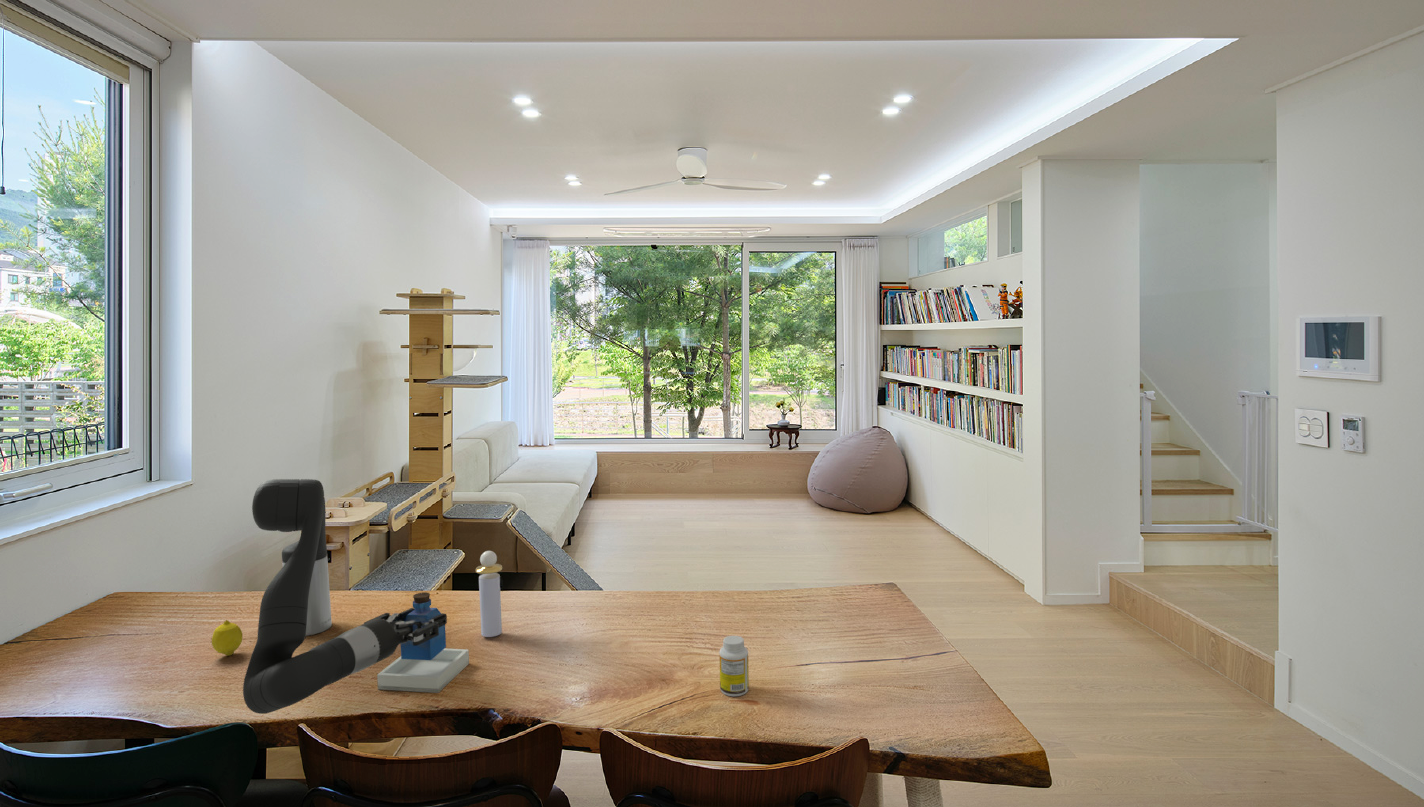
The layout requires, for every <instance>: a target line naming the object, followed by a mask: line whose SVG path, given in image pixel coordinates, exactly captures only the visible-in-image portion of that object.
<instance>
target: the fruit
mask: <svg viewBox="0 0 1424 807" xmlns="http://www.w3.org/2000/svg"><path fill="white" fill-rule="evenodd" d="M242 641H243V631H242V629H241V628H240V626H239V625H238V624H237V623H235V622H234V623H233V622H230V621H229V620H227V619H226V620H224V622H223V623H221V624H220V625H218V626H217V627H216V628H215V629H214V630H213V633H212V636H211V645H212V647H213V649H214V651H216V652H217V653H219V654H223V655H225V656H232V655H233V654H234V653H235V651H236V650H238V648H239V647H240V646H241V644H242Z"/></svg>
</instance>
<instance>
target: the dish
mask: <svg viewBox="0 0 1424 807" xmlns="http://www.w3.org/2000/svg"><path fill="white" fill-rule="evenodd" d="M469 652H470V651H469V649H463V648H447V647H446V648H444V649H443V650H442V651H441V652H440V653H439V654H438V655H436V656H435V657H434V658H433V659H432V660H414V659H401V655H400V656H399V657H398V658H396V659H395V660H394V661H392V662H391V663H390V664H389V665H387V666H386V667H385V668H384V669H382V670H381V671H380V672H378V673H377V676H376V677H377V690H380V691H381V690H382V691H383V690H385V691H399V692H400V691H401V692H403V691H404V692H418V693H419V692H420V693H431V694H432V693H435V694H439V693H440V692H441V691H442V690H443V689H444V688H446V686H447V685H448V684H450V682H451V681H452V680H454V679H455V678H456V677H457V676H458V675H459V674H460V673H461V672H462V670H464V669H465V668H467V666H468V665H469V664H470V655H469Z"/></svg>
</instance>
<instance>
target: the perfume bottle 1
mask: <svg viewBox="0 0 1424 807" xmlns="http://www.w3.org/2000/svg"><path fill="white" fill-rule="evenodd" d="M412 597H413V601H412V608H414V609H415V610H413V611H412V612H411V613H409V614H408V615H407V617H406V618H405V620H404V622H407V621H412V620H417V619H419V620H420V621H425V620H430V619H432V618H434V617H436V616H438V615H440V614H442V612H440V610H439V609H438V608H437V607H431V605H432V599H431V593H430V592H418V593H415V594H414V595H413V596H412ZM424 626H426V625H423V626H422V627H424ZM416 629H417V627H416V625H413V632H414V631H415V630H416ZM446 640H447V638H446V624H445V625H443V626H441V627H439V635H438V636H436V637H434V638H432V639H430V640H428V641H426V642H424V643H422V644H420V645H417V646H413V641H407V642H406V643H402V644H400V656H401V659H414V660H432V659H433V658H434V657H435V656H436V655H438V654H439V653H440V652H441V651H442V650H443V649H444V648H447V641H446Z"/></svg>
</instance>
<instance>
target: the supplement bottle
mask: <svg viewBox="0 0 1424 807" xmlns="http://www.w3.org/2000/svg"><path fill="white" fill-rule="evenodd" d="M722 643H723V644H722V647H721V648H720V649H719V653H718V654H719V689H720V691H721V693H722V694H724V695H725V696H729V697H734V698H735V697H740V696H744V695H745V694H746V693H747V692H749V687H750V685H749V684H750V683H749V677H750V676H749V650H748V648H747V647H746V646H745V639H744V638H743V637H742V636H740V635H728V636H725V637H724V638H723V641H722Z"/></svg>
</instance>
